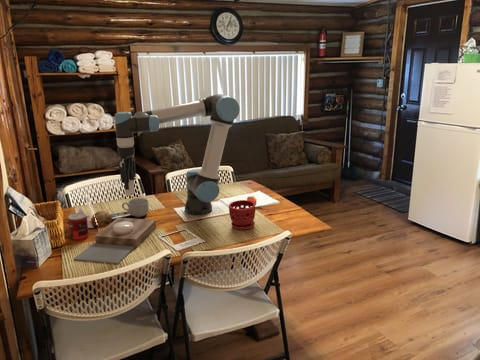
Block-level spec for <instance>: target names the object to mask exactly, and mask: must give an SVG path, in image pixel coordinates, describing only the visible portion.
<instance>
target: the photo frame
mask: <svg viewBox="0 0 480 360" xmlns="http://www.w3.org/2000/svg"><path fill="white" fill-rule="evenodd" d="M182 231H186V232H187V233H188V232H189V233H188V234H190V233H191V234H190V235H191V236H193V235H194V236H193V237H194V238H193V239H190V240H186V241H183V242H181V243H177V244H174V245H173V244H172V243H169V242H168V241H167V240H165V239H164V238H163V237H165V236H168V235H169V236H170V235H171V234H175V233H178V232H182ZM196 237H197V238H196ZM158 238H159V240H161V241H162V242H163V243H165V244H167V245H168V246H169V247H170V248H174V250H175V251H176V252H180V251H184V250H185V249H186V250H187V249H190V248H192V247H194V246H193V245H195V246H197V245H196V244H198V245H200V244H199V243H201V244H204V243H206V240H205V239H202V237H200V236H198V235H196V234H195V233H193V232H191V231H190V230H188V229H187V228H182V229H179V230H177V231H176V230H175V231H172V232H169V233H166V234H163V235H159V236H158ZM203 242H204V243H203ZM191 246H192V247H191Z"/></svg>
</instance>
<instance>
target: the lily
mask: <svg viewBox="0 0 480 360" xmlns="http://www.w3.org/2000/svg"><path fill="white" fill-rule="evenodd" d="M77 213H84V214H85V212H84V210H83V208H81V207H79V208H78V212H77ZM71 214H72V213H70V214H69V215H71ZM86 216H87V224H88V229H89V228H91V229H94V228H95V226H94V225H93V224H92V222H91V221H89V220H91V215H86Z"/></svg>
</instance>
